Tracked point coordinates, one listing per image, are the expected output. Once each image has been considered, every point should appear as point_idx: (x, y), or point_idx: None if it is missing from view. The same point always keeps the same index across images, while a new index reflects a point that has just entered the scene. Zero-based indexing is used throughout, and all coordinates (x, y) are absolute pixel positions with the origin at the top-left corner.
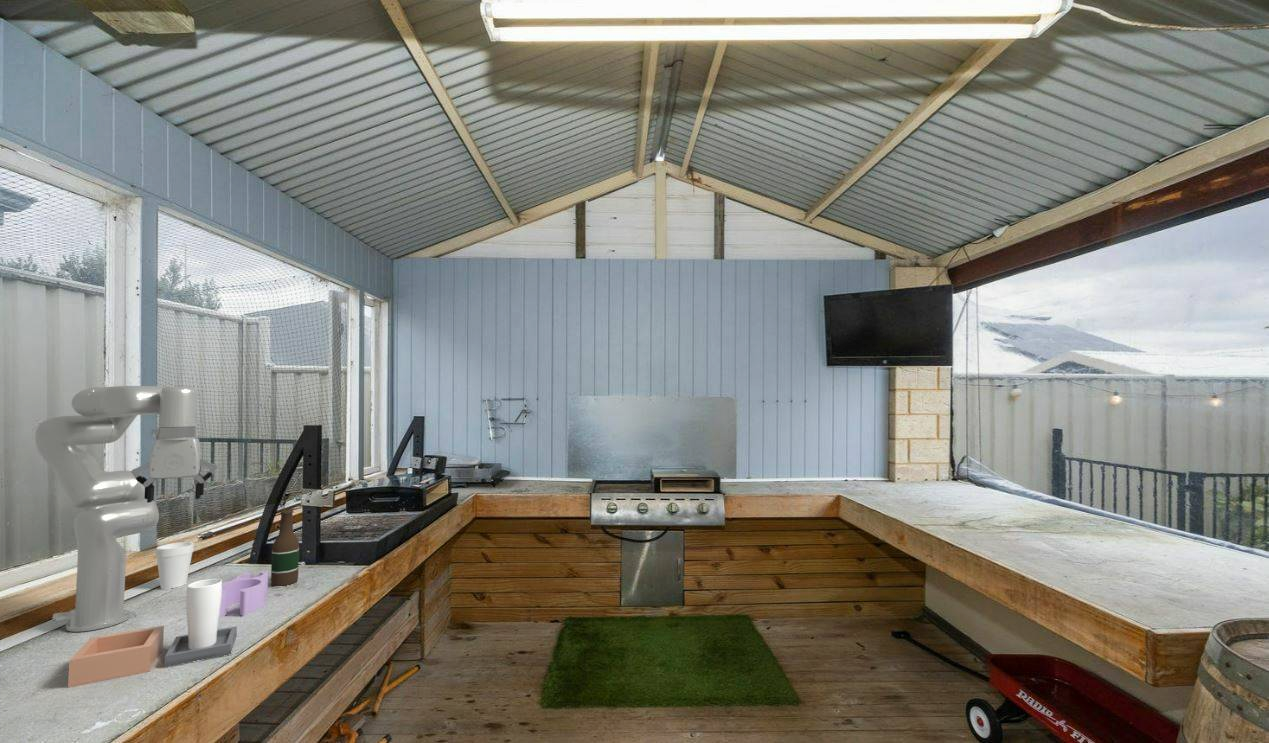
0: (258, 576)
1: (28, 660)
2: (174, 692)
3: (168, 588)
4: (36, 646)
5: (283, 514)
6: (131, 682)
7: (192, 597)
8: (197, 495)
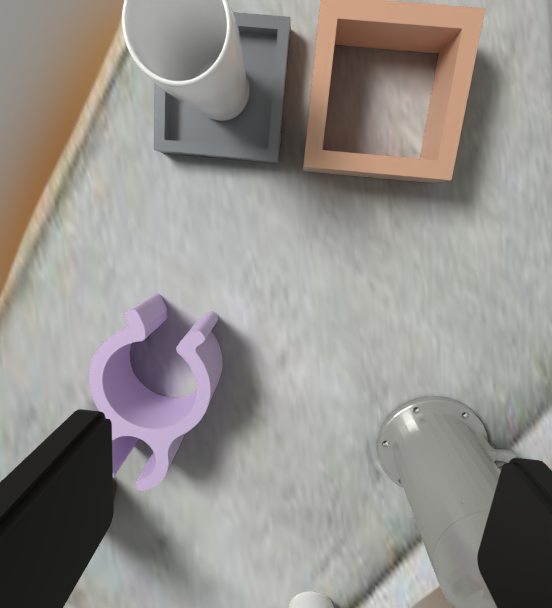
0: (113, 438)
1: (533, 279)
2: None
3: (319, 595)
4: (525, 362)
5: None
6: None
7: None
8: (72, 426)
